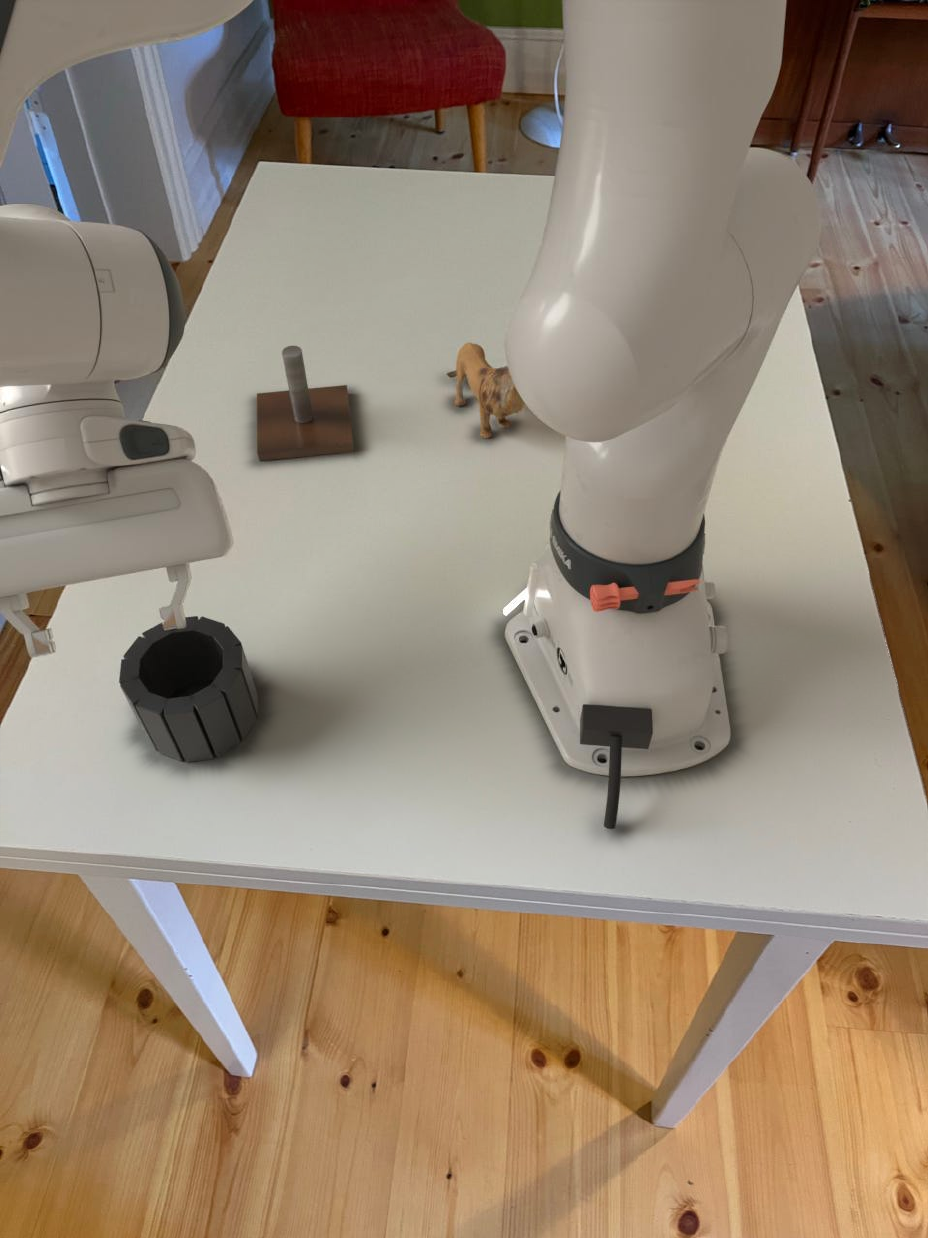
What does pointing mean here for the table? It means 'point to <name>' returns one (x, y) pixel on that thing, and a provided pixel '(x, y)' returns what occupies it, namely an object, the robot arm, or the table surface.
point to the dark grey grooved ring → (177, 662)
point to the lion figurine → (486, 387)
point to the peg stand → (302, 416)
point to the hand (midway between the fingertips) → (110, 642)
